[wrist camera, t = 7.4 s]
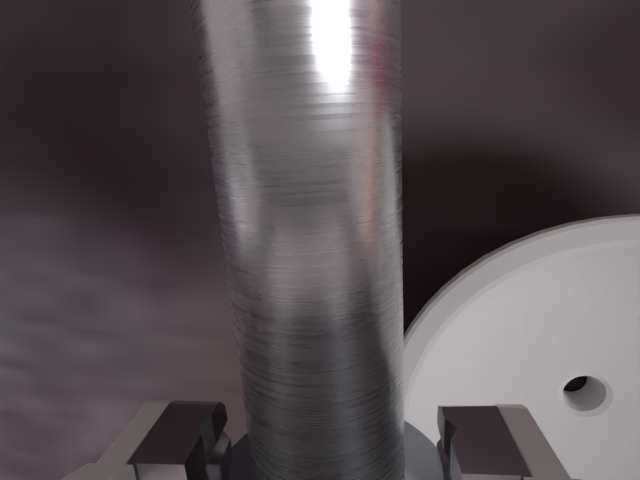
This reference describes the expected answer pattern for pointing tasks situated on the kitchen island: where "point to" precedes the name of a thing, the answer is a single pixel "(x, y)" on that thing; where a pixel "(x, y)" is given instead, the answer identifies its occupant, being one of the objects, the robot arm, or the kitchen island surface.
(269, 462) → the shaft
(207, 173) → the kitchen island surface
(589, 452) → the dish
